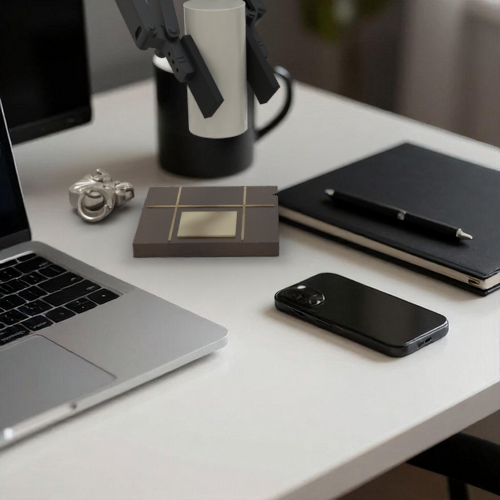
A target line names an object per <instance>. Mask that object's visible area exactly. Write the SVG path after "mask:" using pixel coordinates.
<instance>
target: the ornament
mask: <svg viewBox="0 0 500 500" xmlns="http://www.w3.org/2000/svg"><path fill="white" fill-rule="evenodd" d="M95 173H96V175H93V176H92V174H91V173H88V174H86V175H84V176H83V178H82V179H79V180H77V181H76V182H74V183H72V184H71V185H70V186H69V188H68V200H69V204H70V205H71V206H72V207H73V208H74V209H77V214H78V215H79V216H80V217H81V218H82V220H84V221H87V222H90V223H96V222H99V221H101V220H103V219H104V218H106V217H107V216H108V215H109V214H110V213H112V211H113V209H115V206H117V207H118V206H122V205H123V204H124V203H125V202H126V203H127V202H130V201H131V200H133V199H134V198H135V188H134V186H133V185H132V184H131V182H127V181H123V182H121V181H120V180H114V181H113V178H112V177H111V175H110V174H109V173H108V172H107V171H106V170H104V169H102V168H100V167H98V168H96V170H95ZM102 205H103V206H102ZM101 206H102V207H101ZM98 207H101V208H100V209H98V210H92V209H95V208H98Z"/></svg>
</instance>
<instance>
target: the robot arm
mask: <svg viewBox="0 0 500 500" xmlns="http://www.w3.org/2000/svg"><path fill="white" fill-rule="evenodd" d="M242 1H244V2H245V12H246V68H247V84H248V85H249V86H250V88H251V90H252V93H253V94H254V96H255V98H256V100H257V102H258V104H259V105H261V106H262V105H265V104H267V103H269V101H270V100H271V99H272V98H273V96H275V94H276V93H277V92H278V91H279V90H280V88H281V85H280V83H279V80H278V79H277V77H276V76H275V74H274V71H273V70H272V68H271V66H270V63H269V62H268V61H267V59H268V58H269V51H268V49H267V47H266V45H265V44H264V42H263V40H262V38H261V36H260V34H259V31H258V30H257V28H256V27H257V25H259V23H260V22H261V20H262V19H263V18H264V16H265V14H266V13H267V11H268V9H267V6H266V5H265V3H264V0H242ZM114 2H115V4H116V6H117V8H118V10H119V12H120V15H121V17H122V19H123V21H124V23H125V25H126V27H127V30H128V32H129V34H130V35H131V38H132V40H133V42H134V45H135V47H136V48H137V49H139V50H140V51H147V50H148V49H154V51H153V53H154V55H155V56H156V57H157V58H159V59H166V61H167V63H168V65H169V67H170V68H171V71H172V72H173V75H174V77H175V79H176V80H177V81H178V82H179V83H182V84H183V83H185V84H186V86H187V85H188V87H189V89H190V91H191V93H192V95H193V97H194V99H195V101H196V103H197V105H198V107H199V109H200V111H201V113H202V115H203V117H204V119H206V118H210V117H212V116H213V115H214V113H215V112H216V111H217V110H218V108H219V107H220V106H221V104H222V103H223V102H224V98H223V97H222V95H221V93H220V91H219V89H218V87H217V85H216V83H215V81H214V79H213V77H212V75H211V73H210V71H209V69H208V67H207V65H206V63H205V61H204V60H203V58H202V56H201V54H200V52H199V50H198V48H197V46H196V44H195V42H194V40H193V38H192V36H191V35H190V34H189V35H185V34H184V35H182V36H181V38H180V34H181V30H180V26H179V25H180V24H179V21H178V17H177V12H176V8H175V3H174V0H114Z"/></svg>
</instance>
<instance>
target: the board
mask: <svg viewBox="0 0 500 500" xmlns="http://www.w3.org/2000/svg"><path fill="white" fill-rule="evenodd" d="M278 188H279V187H278V185H235V186H234V185H221V186H220V185H217V186H213V185H212V186H211V185H210V186H209V185H208V186H206V185H205V186H149V187H148V190H147V194H146V196H145V200H144V203H143V207H142V210H141V214H140V217H139V220H138V224H137V227H136V231H135V233H134V237H133V241H132V254H133V257H134V258H164V257H165V258H166V257H167V258H169V257H174V258H177V257H180V258H181V257H185V258H186V257H187V258H189V257H278V256H280V226H279V225H280V223H279V222H280V221H279V195H278V196H277V195H276V196H275V195H272V194H274V193H278V194H279V189H278Z"/></svg>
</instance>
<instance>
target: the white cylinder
mask: <svg viewBox="0 0 500 500" xmlns="http://www.w3.org/2000/svg"><path fill="white" fill-rule="evenodd" d="M182 6H183V7H182V8H183V27H184V35H189V34H190V35H191V36H192V38H193V40H194V42H195V44H196V46H197V48H198V50H199V52H200V54H201V56H202V58H203V60H204V61H205V63H206V65H207V67H208V69H209V71H210V73H211V75H212V77H213V79H214V81H215V83H216V85H217V87H218V89H219V91H220V93H221V95H222V97H223V98H224V102H223V103H222V104H221V106H220V107H219V108H218V110H217V111H216V112H215V113H214V115H213V116H212V117H210V118H206V119H204V117H203V115H202V113H201V111H200V109H199V107H198V105H197V103H196V101H195V99H194V97H193V95H192V93H191V91H190V89H189V87H188V85H187V84H186V90H187V111H188V112H187V113H188V130H189V132H190V134H192V135H194V136H197V137H200V138H208V139H225V138H226V139H227V138H232V137H236V136H240V135H242V134H244V133H245V132H247V130H248V125H249V123H248V81H247V68H246V12H245V2H244V1H242V0H187V1H185V2H184V3H183V5H182Z"/></svg>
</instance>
